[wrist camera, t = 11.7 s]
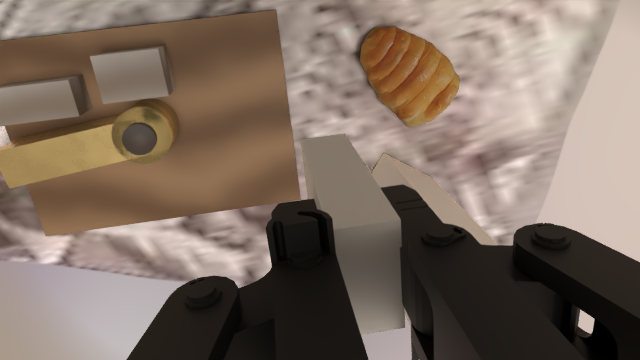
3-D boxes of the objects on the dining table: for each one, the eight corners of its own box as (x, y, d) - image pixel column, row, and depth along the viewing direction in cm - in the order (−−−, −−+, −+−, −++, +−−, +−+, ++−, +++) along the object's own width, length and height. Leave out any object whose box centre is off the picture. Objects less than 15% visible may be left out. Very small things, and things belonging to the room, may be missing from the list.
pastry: (339, 65, 41) (346, 70, 37) (390, 3, 39) (403, 3, 36) (410, 129, 44) (424, 140, 40) (460, 74, 42) (478, 81, 39)
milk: (352, 202, 46) (424, 364, 25) (383, 151, 44) (487, 279, 24) (402, 226, 47) (507, 396, 27) (434, 177, 46) (572, 318, 25)
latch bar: (169, 93, 38) (159, 103, 35) (186, 142, 40) (178, 156, 36) (13, 130, 38) (-14, 144, 34) (37, 178, 39) (13, 196, 36)
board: (-17, 42, 36) (-69, 50, 31) (275, 9, 38) (278, 11, 32) (51, 230, 43) (19, 265, 37) (299, 194, 44) (305, 222, 39)
